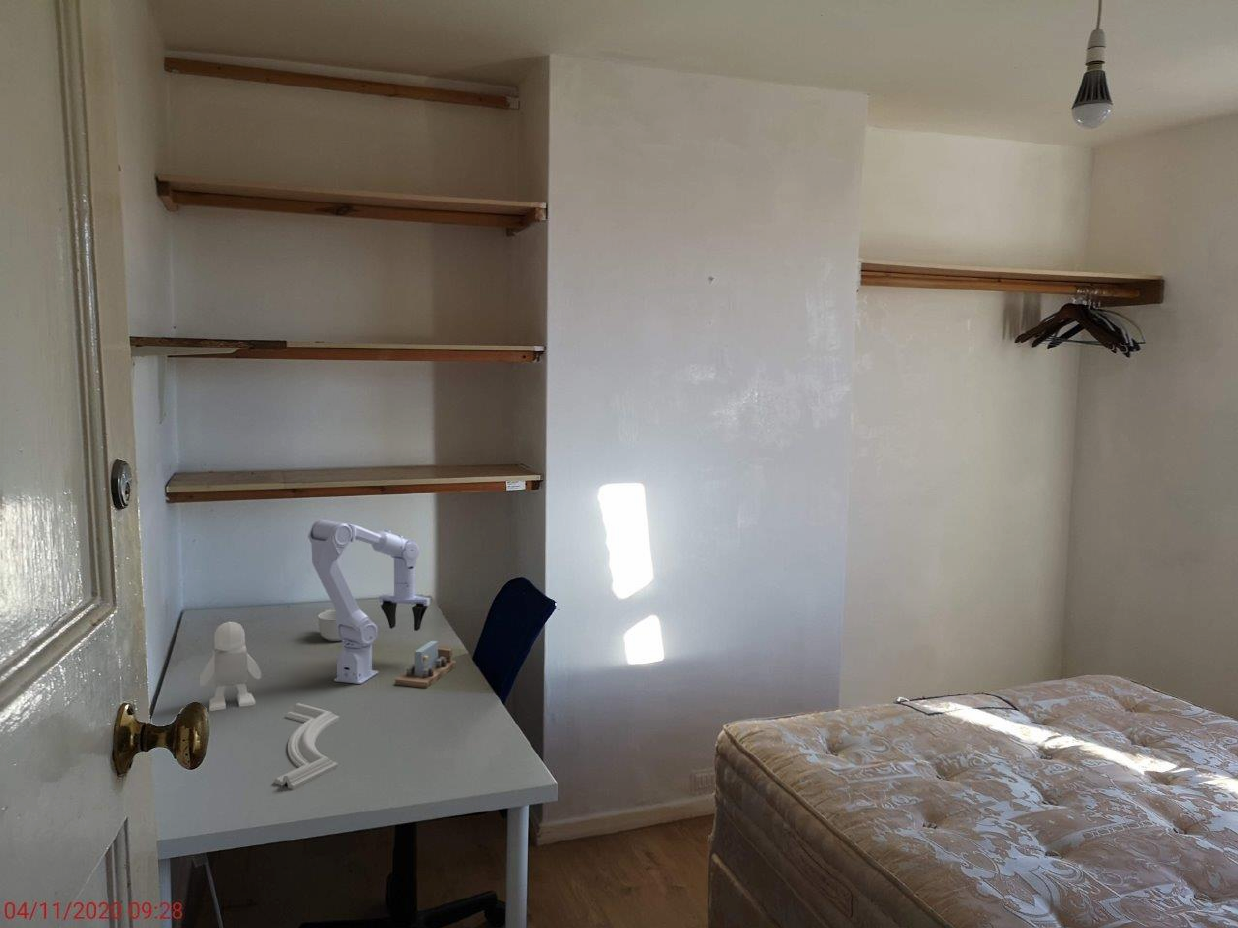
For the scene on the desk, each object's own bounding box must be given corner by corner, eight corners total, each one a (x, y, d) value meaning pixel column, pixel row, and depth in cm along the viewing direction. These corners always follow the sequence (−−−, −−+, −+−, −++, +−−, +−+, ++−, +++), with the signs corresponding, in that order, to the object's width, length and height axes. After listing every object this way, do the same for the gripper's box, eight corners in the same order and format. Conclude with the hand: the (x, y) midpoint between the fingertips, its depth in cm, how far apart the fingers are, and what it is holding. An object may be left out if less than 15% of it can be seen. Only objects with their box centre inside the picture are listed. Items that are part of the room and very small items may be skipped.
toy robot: (200, 712, 209) (198, 630, 207) (199, 700, 216) (197, 620, 214) (263, 703, 215) (261, 623, 213) (260, 691, 223) (258, 614, 221)
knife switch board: (427, 687, 227) (426, 669, 227) (395, 684, 229) (395, 666, 229) (455, 666, 245) (455, 648, 244) (426, 663, 247) (426, 645, 246)
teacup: (359, 640, 267) (359, 614, 266) (323, 645, 261) (322, 619, 260) (347, 629, 279) (347, 604, 278) (312, 633, 273) (311, 608, 272)
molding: (286, 714, 210) (286, 702, 210) (339, 708, 214) (339, 697, 213) (272, 794, 170) (271, 780, 170) (338, 786, 173) (337, 772, 173)
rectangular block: (424, 676, 232) (424, 652, 231) (414, 675, 232) (414, 651, 232) (440, 664, 241) (440, 641, 241) (431, 663, 242) (431, 640, 241)
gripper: (434, 580, 248) (434, 626, 250) (387, 576, 252) (388, 622, 253) (423, 585, 241) (423, 633, 243) (375, 581, 245) (375, 629, 246)
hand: (404, 628), depth 247 cm, fingers open, 7 cm apart
